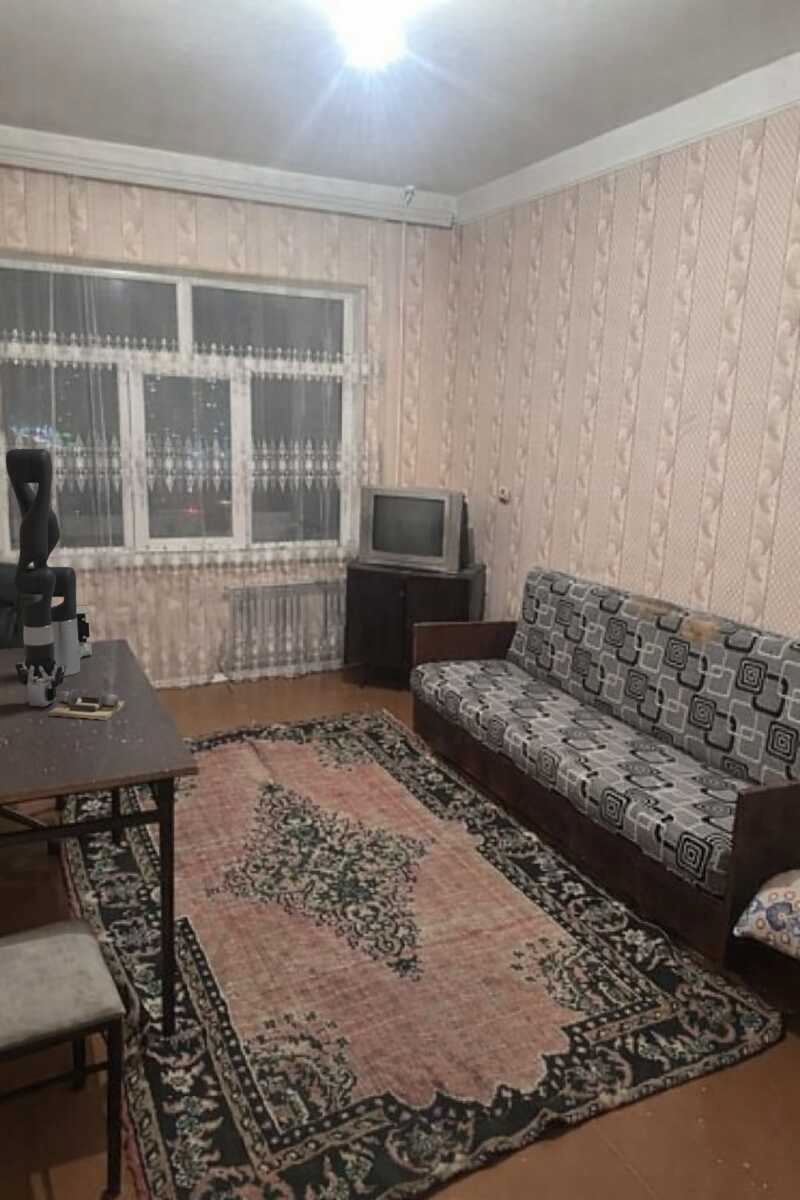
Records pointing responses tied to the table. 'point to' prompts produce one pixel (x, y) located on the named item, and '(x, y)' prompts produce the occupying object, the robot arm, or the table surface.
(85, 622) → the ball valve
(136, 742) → the table surface
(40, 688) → the block
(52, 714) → the beige flat board
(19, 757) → the table surface
